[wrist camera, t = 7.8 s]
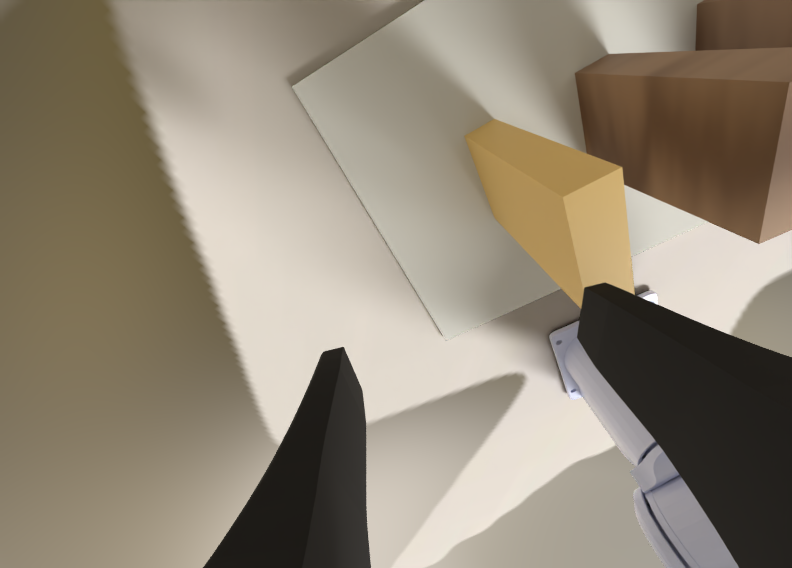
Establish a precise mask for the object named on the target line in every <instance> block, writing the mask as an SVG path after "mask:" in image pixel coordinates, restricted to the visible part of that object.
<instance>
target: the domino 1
mask: <svg viewBox="0 0 792 568" xmlns="http://www.w3.org/2000/svg"><path fill="white" fill-rule="evenodd" d="M464 137H465V139H466V142H467V145H468V148H469V150H470V153H471V156H472V158H473V161H474V164H475V167H476V169H477V172H478V175H479V177H480V180H481V183H482V186H483V188H484V191H485V194H486V196H487V199H488V202H489V204H490V207H491V210H492V213H493V215H494V218H495V219H496V220H497V221H498V222H499V223H500V224H501V225H502V227H503V228H504V229H505V230H506V231H507V232H508V233H509V234H510V235H511V236H512V237H513V238H514V239H515V240H516V241H517V242H518V243H519V244H520V245H521V247H522V248H523V249H524V250H525V251H526V252H527V253H528V254H529V255H530V256H531V257H532V258H533V259H534V260H535V261H536V262H537V263H538V264H539V265H540V267H541V268H542V269H543V270H544V271H545V272H546V273H547V274H548V275H549V276H550V277H551V278H552V279H553V280H554V281H555V282H556V283H557V284H558V285H559V286H560V288H561V289H562V290H563V291H564V292H565V293H566V294H567V295H568V296H569V297H570V298H571V299H572V300H573V301H574V302H575V303H576V304H577V305H578V306H579V308H580V309H581V307H582V300H583V293H584V287H588V286H592V285H596V284H600V283H608V284H611V285H613V286H616V287H618V288H621V289H623V290H625V291H628V292H630V293H632V294H634V295H635V291H634V281H633V271H632V260H631V250H630V240H629V230H628V220H627V210H626V200H625V190H624V180H623V169H622V167H621V166H618V165H616V164H613V163H610V162H608V161H605V160H602V159H600V158H597V157H594V156H592V155H589V154H586V153H584V152H581V151H578V150H576V149H573V148H571V147H568V146H565V145H563V144H560V143H557V142H555V141H552V140H549V139H547V138H544V137H541V136H539V135H536V134H533V133H531V132H528V131H525V130H523V129H520V128H518V127H515V126H512V125H510V124H507V123H504V122H502V121H499V120H496V119H493V120H491V121H490V122H488V123H486V124H484V125H483V126H481V127H479V128H477V129H476V130H474V131H472V132H470V133H469V134H467V135H465V136H464Z"/></svg>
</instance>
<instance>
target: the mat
mask: <svg viewBox="0 0 792 568" xmlns="http://www.w3.org/2000/svg"><path fill="white" fill-rule="evenodd" d="M702 1H704V0H424V1H423V2H421V3H420V4H418V5H416V6H415V7H413V8H412V9H410V10H409V11H407V12H406V13H404V14H403V15H401V16H400V17H398V18H396V19H395V20H393V21H392V22H390V23H389V24H387V25H386V26H384V27H383V28H381V29H380V30H378V31H376V32H375V33H373V34H372V35H370V36H369V37H367V38H366V39H364V40H363V41H361V42H360V43H358V44H357V45H355V46H353V47H352V48H350V49H349V50H347V51H346V52H344V53H343V54H341V55H340V56H338V57H337V58H335V59H333V60H332V61H330V62H329V63H327V64H326V65H324V66H323V67H321V68H320V69H318V70H317V71H315V72H313V73H312V74H310V75H309V76H307V77H306V78H304V79H303V80H301V81H300V82H298V83H297V84H295V85H294V86H292V88H293V90H294V91H295V93H296V95H297V96H298V98H299V100H300V101H301V103H302V105H303V106H304V108H305V110H306V111H307V113H308V115H309V116H310V118H311V119H312V121H313V123H314V124H315V126H316V128H317V129H318V131H319V133H320V134H321V136H322V138H323V139H324V141H325V143H326V144H327V146H328V147H329V149H330V151H331V152H332V154H333V156H334V157H335V159H336V161H337V162H338V164H339V166H340V167H341V169H342V171H343V172H344V174H345V175H346V177H347V179H348V180H349V182H350V184H351V185H352V187H353V189H354V190H355V192H356V194H357V195H358V197H359V199H360V200H361V202H362V203H363V205H364V207H365V208H366V210H367V212H368V213H369V215H370V217H371V218H372V220H373V222H374V223H375V225H376V227H377V228H378V230H379V231H380V233H381V235H382V236H383V238H384V240H385V241H386V243H387V245H388V246H389V248H390V250H391V251H392V253H393V255H394V256H395V258H396V259H397V261H398V263H399V264H400V266H401V268H402V269H403V271H404V273H405V274H406V276H407V278H408V279H409V281H410V283H411V284H412V286H413V287H414V289H415V291H416V292H417V294H418V296H419V297H420V299H421V301H422V302H423V304H424V306H425V307H426V309H427V311H428V312H429V314H430V315H431V317H432V319H433V320H434V322H435V324H436V325H437V327H438V329H439V330H440V332H441V334H442V335H443V337H444V339H445V340H446V341H447V340H450V339H452V338H454V337H456V336H458V335H461V334H463V333H465V332H467V331H469V330H472V329H474V328H476V327H478V326H481V325H483V324H485V323H487V322H489V321H492V320H494V319H496V318H498V317H500V316H503V315H505V314H507V313H509V312H511V311H514V310H516V309H518V308H520V307H522V306H525V305H527V304H529V303H531V302H533V301H536V300H538V299H540V298H542V297H544V296H547V295H549V294H551V293H553V292H556V291H558V290H560V289H561V288H560V286H559V285H558V284H557V283H556V282H555V281H554V280H553V279H552V278H551V277H550V276H549V275H548V274H547V273H546V272H545V271H544V270H543V269H542V268H541V267H540V265H539V264H538V263H537V262H536V261H535V260H534V259H533V258H532V257H531V256H530V255H529V254H528V253H527V252H526V251H525V250H524V249H523V248H522V247H521V245H520V244H519V243H518V242H517V241H516V240H515V239H514V238H513V237H512V236H511V235H510V234H509V233H508V232H507V231H506V230H505V229H504V228H503V227H502V225H501V224H500V223H499V222H498V221H497V220H496V219H495V218H494V215H493V213H492V210H491V207H490V204H489V202H488V199H487V196H486V194H485V191H484V188H483V186H482V183H481V180H480V177H479V175H478V172H477V169H476V167H475V164H474V161H473V158H472V156H471V153H470V150H469V148H468V145H467V142H466V139H465V137H464V136H465V135H467V134H469V133H470V132H472V131H474V130H476V129H477V128H479V127H481V126H483V125H484V124H486V123H488V122H490V121H491V120H493V119H496V120H499V121H502V122H504V123H507V124H510V125H512V126H515V127H518V128H520V129H523V130H525V131H528V132H531V133H533V134H536V135H539V136H541V137H544V138H547V139H549V140H552V141H555V142H557V143H560V144H563V145H565V146H568V147H571V148H573V149H576V150H578V151H581V152H584V153H586V154H587V152H586V145H585V139H584V132H583V125H582V119H581V112H580V105H579V99H578V92H577V85H576V79H575V73H576V72H577V71H579V70H581V69H583V68H584V67H586V66H588V65H590V64H592V63H593V62H595V61H597V60H599V59H600V58H602V57H604V56H606V55H608V54H619V53H646V52H674V51H695V45H696V18H697V4H698V3H700V2H702ZM624 190H625V200H626V210H627V220H628V230H629V240H630V250H631V257H633V256H635V255H637V254H639V253H642V252H644V251H646V250H648V249H650V248H653V247H655V246H657V245H659V244H661V243H664V242H666V241H668V240H670V239H672V238H675V237H677V236H679V235H681V234H683V233H686V232H688V231H690V230H692V229H694V228H697V227H699V226H701V225H703V224H705V223H708V221H706V220H703V219H701V218H699V217H696V216H694V215H692V214H690V213H687V212H685V211H683V210H681V209H678V208H676V207H674V206H671V205H669V204H667V203H665V202H662V201H660V200H658V199H655V198H653V197H651V196H649V195H646V194H644V193H642V192H640V191H637V190H635V189H633V188H630V187H628V186H626V185H624Z"/></svg>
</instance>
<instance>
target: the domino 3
mask: <svg viewBox="0 0 792 568" xmlns="http://www.w3.org/2000/svg"><path fill="white" fill-rule="evenodd" d="M785 47H792V0H704V1H702V2H700V3H698V4H697V18H696V45H695V51H702V50H729V49H757V48H785Z"/></svg>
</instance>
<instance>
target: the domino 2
mask: <svg viewBox="0 0 792 568" xmlns="http://www.w3.org/2000/svg"><path fill="white" fill-rule="evenodd" d="M575 79H576V85H577V92H578V99H579V105H580V112H581V119H582V125H583V132H584V139H585V145H586V152H587V154H589V155H592V156H594V157H597V158H600V159H602V160H605V161H608V162H610V163H613V164H616V165H618V166H621V167H622V169H623V180H624V185H626V186H628V187H630V188H633V189H635V190H637V191H640V192H642V193H644V194H646V195H649V196H651V197H653V198H655V199H658V200H660V201H662V202H665V203H667V204H669V205H671V206H674V207H676V208H678V209H681V210H683V211H685V212H687V213H690V214H692V215H694V216H696V217H699V218H701V219H703V220H706V221H708V222H710V223H712V224H715V225H717V226H719V227H722V228H724V229H726V230H728V231H731V232H733V233H735V234H737V235H740V236H742V237H744V238H747V239H749V240H751V241H753V242H756V243H758V244H760V243H762V242H765V241H767V240H769V239H772V238H774V237H776V236H778V235H781V234H783V233H785V232H788V231H790V230H792V47H785V48H757V49H729V50H702V51H674V52H646V53H619V54H608V55H606V56H604V57H602V58H600V59H599V60H597V61H595V62H593V63H592V64H590V65H588V66H586V67H584V68H583V69H581V70H579V71H577V72H576V73H575Z"/></svg>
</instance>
